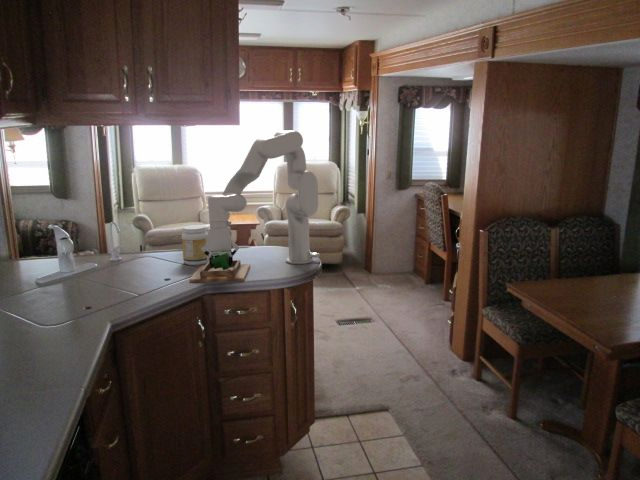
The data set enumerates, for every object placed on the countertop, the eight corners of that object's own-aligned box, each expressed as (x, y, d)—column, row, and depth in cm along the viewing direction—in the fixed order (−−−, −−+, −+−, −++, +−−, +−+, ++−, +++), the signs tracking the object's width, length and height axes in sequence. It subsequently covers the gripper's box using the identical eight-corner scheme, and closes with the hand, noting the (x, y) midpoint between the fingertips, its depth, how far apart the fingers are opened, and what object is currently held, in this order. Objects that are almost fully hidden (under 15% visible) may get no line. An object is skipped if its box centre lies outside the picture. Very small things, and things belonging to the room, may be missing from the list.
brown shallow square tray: (250, 266, 221) (249, 258, 221) (244, 281, 200) (243, 272, 199) (201, 267, 221) (200, 259, 220) (189, 282, 199) (188, 273, 199)
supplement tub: (190, 258, 238) (188, 224, 234) (214, 259, 235) (212, 224, 232) (178, 265, 226) (176, 229, 222) (203, 266, 224) (201, 229, 220)
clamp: (220, 274, 214) (216, 254, 216) (233, 271, 214) (229, 251, 216) (212, 271, 203) (207, 250, 204) (226, 267, 202) (221, 246, 204)
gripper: (240, 222, 210) (243, 262, 214) (199, 223, 209) (202, 263, 213) (238, 225, 202) (240, 267, 206) (195, 226, 202) (199, 268, 206)
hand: (221, 265), depth 210 cm, fingers closed on clamp, 7 cm apart
